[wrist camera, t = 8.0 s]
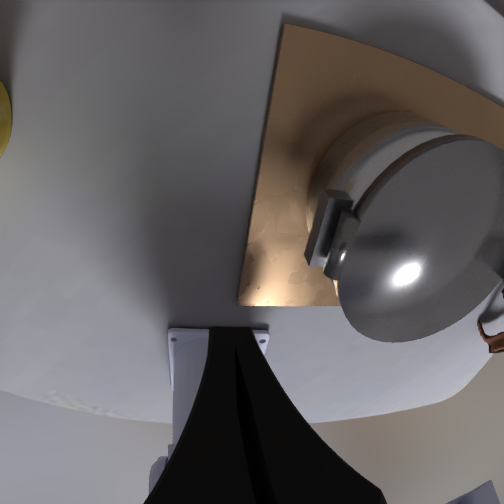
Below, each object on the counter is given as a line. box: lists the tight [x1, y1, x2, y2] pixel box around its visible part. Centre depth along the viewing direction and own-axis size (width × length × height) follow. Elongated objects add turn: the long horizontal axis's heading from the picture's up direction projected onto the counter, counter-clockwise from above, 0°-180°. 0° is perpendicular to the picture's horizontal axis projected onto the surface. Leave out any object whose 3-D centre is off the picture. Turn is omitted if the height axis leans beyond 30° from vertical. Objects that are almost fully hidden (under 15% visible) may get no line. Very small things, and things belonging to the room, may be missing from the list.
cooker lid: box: [323, 134, 504, 343], centre depth 15 cm, size 17×13×1 cm
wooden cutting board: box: [237, 24, 504, 306], centre depth 18 cm, size 18×20×5 cm
